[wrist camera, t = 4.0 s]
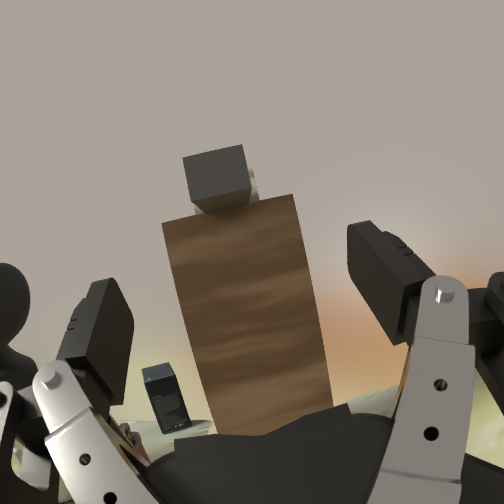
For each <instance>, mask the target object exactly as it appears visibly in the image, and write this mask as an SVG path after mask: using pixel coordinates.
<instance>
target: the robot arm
mask: <svg viewBox="0 0 504 504" xmlns="http://www.w3.org/2000/svg"><path fill="white" fill-rule="evenodd" d="M347 264H348V271H349V274H350V277H351V279H352V281H353V283H354V284H355V286H356V287H357V289H358V290H359V292H360V293H361V295H362V296H363V298H364V300H365V301H366V303H367V304H368V306H369V307H370V309H371V310H372V312H373V313H374V315H375V317H376V318H377V320H378V321H379V323H380V325H381V326H382V328H383V330H384V331H385V333H386V334H387V336H388V338H389V339H390V341H391V342H392V344H393V345H394V346H395V345H398V344H400V343H403V342H406V343H407V345H408V346H409V348H408V352H407V356H406V361H405V365H404V369H403V373H402V378H401V382H400V385H399V389H398V393H397V397H396V400H395V404H394V407H393V410H392V413H391V416H390V418H389V417H385V416H381V415H376V414H367V413H355V414H351V412H350V409H349V407H348V404H347V403H345V404H342V405H339V406H335V407H332V408H329V409H325V410H322V411H318V412H315V413H311V414H307V415H304V416H302V417H300V418H298V419H296V420H294V421H292V422H290V423H288V424H286V425H284V426H282V427H280V428H278V429H276V430H274V431H272V432H270V433H267V434H265V435H261V436H247V435H225V434H211V435H204V436H197V437H189V438H181V439H174V450H175V451H173V452H171V453H168V454H166V455H164V456H162V457H160V458H159V459H157V460H155V461H154V462H153V463H151V464H149V463H148V462H147V461H146V460H145V459H144V457H143V456H142V455H141V454H140V453H139V452H138V450H137V449H136V448H135V447H134V445H133V444H132V443H131V441H130V440H129V439H128V437H127V436H126V435H125V434H124V432H123V431H122V429H121V428H120V427H119V425H118V424H117V423H116V421H115V420H114V418H113V417H112V416H111V415H110V414H109V411H110V406H114V405H123V401H124V393H125V385H126V377H127V371H128V364H129V357H130V351H131V345H132V339H133V333H134V319H133V316H132V313H131V310H130V308H129V307H128V304H127V302H126V301H125V298H124V296H123V294H122V292H121V290H120V288H119V286H118V284H117V282H116V280H115V279H113V278H108V279H104V280H99V281H95V282H92V284H91V286H90V288H89V291H88V293H87V296H86V298H84V299H82V300H81V302H80V303H79V304H78V305H77V307H76V308H75V309H74V311H73V314H72V316H71V319H70V322H69V324H68V327H67V331H66V332H65V335H64V338H63V340H62V343H61V346H60V349H59V351H58V354H57V358H56V360H55V361H51V362H49V363H47V364H46V365H44V366H43V367H42V368H41V369H40V370H39V371H38V369H37V366H36V363H35V362H34V360H32V359H31V358H30V357H27V356H25V355H22V354H20V353H18V352H16V351H14V350H13V349H12V348H10V347H9V346H8V344H9V342H10V341H11V340H12V339H13V338H14V337H15V336H16V335H17V334H18V333H19V332H20V330H21V329H22V327H23V326H24V324H25V322H26V320H27V317H28V314H29V308H30V291H29V286H28V284H27V281H26V279H25V277H24V276H23V274H22V273H21V272H20V271H19V270H18V269H17V268H16V267H14V266H12V265H10V264H7V263H0V504H58V503H62V502H67V501H70V500H74V501H75V503H76V504H504V469H503V468H501V467H498V466H496V465H493V464H491V463H489V462H486V461H484V460H481V459H479V458H477V457H474V456H472V455H470V454H467V453H465V449H466V443H467V437H468V431H469V424H470V416H471V408H472V398H473V386H474V371H475V368H476V369H477V371H478V372H479V374H480V376H481V377H482V379H483V381H484V382H485V384H486V386H487V387H488V389H489V391H490V392H491V394H492V396H493V398H494V399H495V401H496V403H497V405H498V406H499V408H500V410H501V412H502V414H503V416H504V272H497V273H494V274H493V275H492V276H491V277H490V279H489V283H488V286H487V288H475V289H466V287H465V286H464V285H463V283H461V282H460V281H459V280H457V279H455V278H452V277H449V276H437V275H436V274H435V273H434V272H433V271H432V270H431V269H430V268H429V267H428V266H427V265H426V264H425V263H424V262H423V261H422V260H421V259H420V258H419V257H418V256H417V255H416V254H414V252H413V251H412V250H411V249H410V248H409V247H407V245H406V244H405V243H404V242H403V241H402V240H401V239H400V238H399V237H397V236H395V235H393V234H391V233H389V232H387V231H384V232H381V231H380V230H379V229H378V228H377V227H376V226H375V225H374V224H373V223H372V222H371V221H370V220H368V221H364V222H359V223H354V224H350V225H348V227H347ZM12 453H13V455H14V456H15V458H16V460H17V462H18V463H19V465H20V467H21V468H20V475H19V477H17V476H16V475H15V473H14V472H13V470H12V466H11V459H12Z"/></svg>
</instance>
